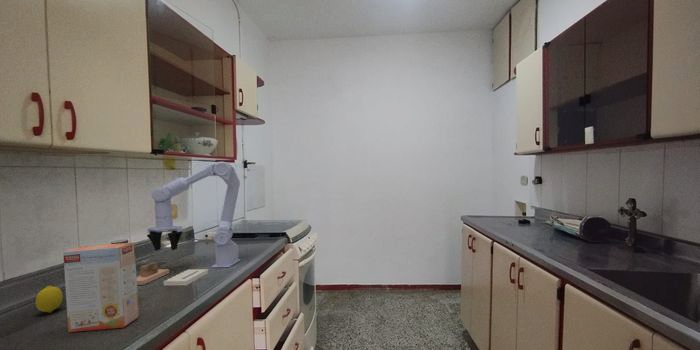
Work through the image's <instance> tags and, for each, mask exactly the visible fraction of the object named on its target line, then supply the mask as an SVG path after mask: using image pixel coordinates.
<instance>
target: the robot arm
mask: <svg viewBox="0 0 700 350" xmlns="http://www.w3.org/2000/svg"><path fill="white" fill-rule="evenodd" d="M211 176H212V177H218V178H221V179H222V180H223V181H224V183H225V184H226V187H227V188H226V191H225V196H224V203H223V205H222V211H221V217H220V222H219V225H218V227H217V231H216V232H215V233H214V235H213V241H214V251H215V253H214V255H215V264H213V265H211V268H230V267H231V266H233V265H235V264H237V263H238V262H240V261H241V259H240V258H239V247H238V244H237V243H236V242H235V241H233V240H232V237H233V235H234V233H233V220H234V214H235V209H236V204H237V199H238V196H239V195H238V194H239V190H240V184H241V181H240V178H239V177H238V174H237V172H236V169H235V168H234V166H232V165H231V164H230V163H229V162H225V161H218V162H217V163H213V164H210V165H209V166H206V167H204V168H201V169H200V170H199V171H196V172H194V173H193V174H191V175H189V176H187V177H183V176H180V177H178V176H177V177H175V178H174V179H173V180H172V181H170V182H168V183H163V184H162V186H163V187H162V186H158V187H157V186H156V188H155V189H153V190H152V192H151V198H152V200H154V215H155V226H153V227H147V228H146V233H147V234H146V237H147V238H148V239H149V240H150V241H151V244H152V245H153V248H154V250H155V251H159V250H161V249H162V248H161V247H162V244H161V243H162V241H161V240H162V236H163V233H167V237H168V238H169V241H170V249H171V251H174V250H177V249H178V245H179V241H180V238H181V236H182V235H183V226H182V225H173V223H174V222H173V209H172V198H173V197H176V196H178V195H179V194H182V193H184V192H185V191H187V190H189V189H190V187H191V185H192V184H194V183H196V182H199V181H201V180H203V179H206V178H207V177H211ZM155 251H154V252H155Z"/></svg>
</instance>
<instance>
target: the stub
mask: <svg viewBox="0 0 700 350" xmlns="http://www.w3.org/2000/svg"><path fill="white" fill-rule="evenodd" d="M139 268H140V269H139V270H140V275H139V276H136V278H137V286H143V285H147V284H148V283H151V282H153V281H155V280H157V279H160V278H161V277H164V276H166V275H168V274H170V269H169V268H165V269H164V268H163V269H162V268H161V269H160V268H159V269H158V262H152V261H151V262H149V263H145V264H143V265H140V267H139Z"/></svg>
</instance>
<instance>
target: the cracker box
mask: <svg viewBox="0 0 700 350" xmlns="http://www.w3.org/2000/svg"><path fill="white" fill-rule="evenodd" d="M135 249H136V248H135V242H128V243H120V244H111V243H108V244H106V243H105V244H95V245H84V246H83V245H82V246H77V247H74V248H72V249H71V248H70V249H67V250H64V251H63V252H62V253H63V267H64V268H63V269H64V284H65V298H66V315H67V327H68V328H67V329H68V333H76V332H87V331H99V330H100V331H101V330H110V329H112V330H113V329H122V328H125V327H127V326H128V325H130V324H131V323H132V322H134V321H136V319H138V318H139V317H140V310H139V309H140V308H139V293H138V285H137V278H136V277H137V267H136V266H137V265H136V250H135Z"/></svg>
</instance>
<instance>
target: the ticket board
mask: <svg viewBox="0 0 700 350" xmlns="http://www.w3.org/2000/svg"><path fill="white" fill-rule="evenodd" d="M208 274H209V269H207V268H205V269H201V268H200V269H199V268H198V269H195V268H194V269H186V270H184V271H182V272H179V273H178V274H176V275H174V276H171V277H169V278H167V279H165V280H164V281H163V286H188V285H189V284H191V283H193V282H195V281H197V280H198V279H200V278H203V277H204V276H205V275H208Z"/></svg>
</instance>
